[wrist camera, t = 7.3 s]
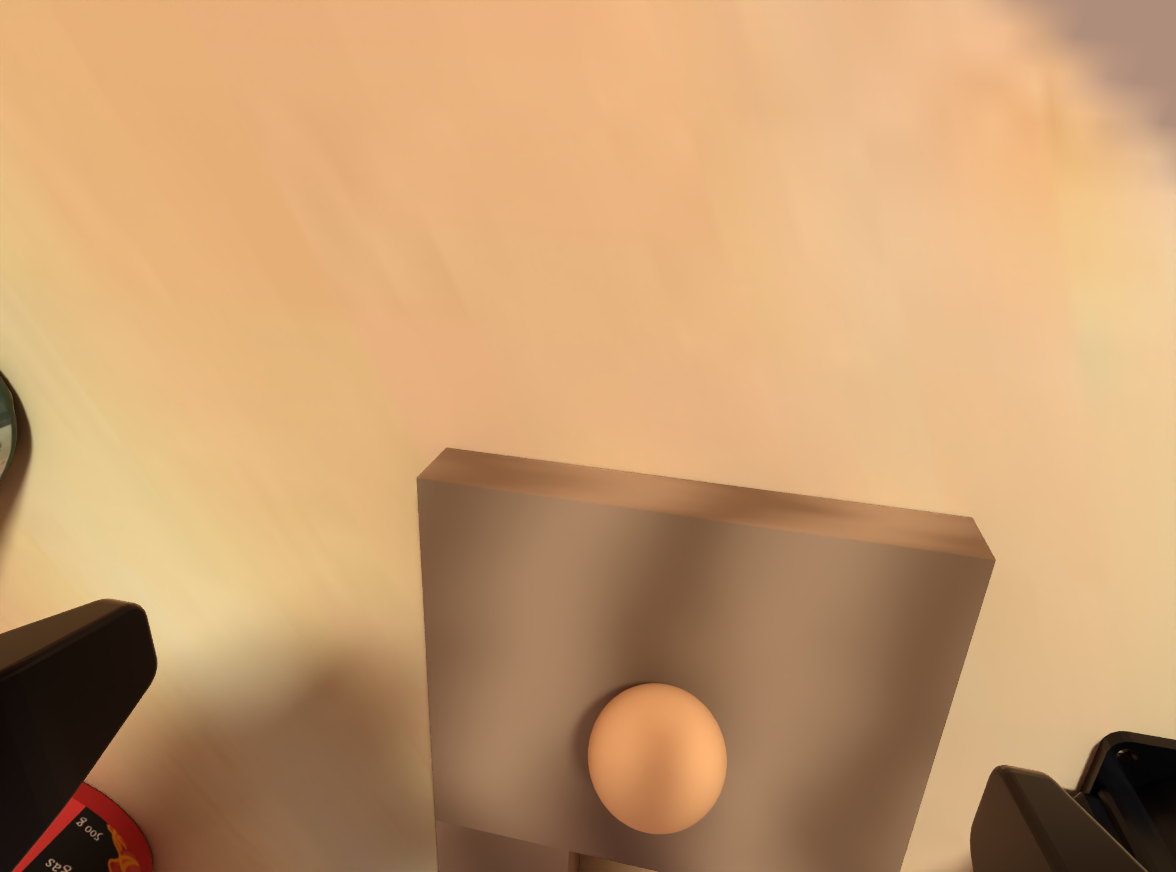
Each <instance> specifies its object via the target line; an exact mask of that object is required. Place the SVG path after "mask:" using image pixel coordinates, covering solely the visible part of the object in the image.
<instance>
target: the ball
mask: <svg viewBox="0 0 1176 872" xmlns="http://www.w3.org/2000/svg"><path fill="white" fill-rule="evenodd" d="M588 766H589V772H590V777H591V780H592V783H593V786H594V788H595V791H596V792H597V794H598V796H599V798H600V800H601V801H602V803H603V804H604V806H605V807H606V808H607V809H608V810H609V811H610V812H611V814H612V815H613V816H615V817H616V818H617V819H618V820H620V821H621V822H622V823H624V824H626V825H627V826H629V827H631V828H633V829H635V830H638V831H641V832H645V833H650V834H670V833H675V832H679V831H682V830H684V829H686V828H689V827H690V826H692V825H694V824H695V823H697V822H698V821H699V820H701V819H702V818H703V817H704V816H705V815H706V814H707V813H708V812H709V811H710V810H711V808H712V807H713V806H714V804H715V803H716V801H717V799H718V797H719V795H720V793H721V791H722V788H723V785H724V781H725V777H726V769H727V754H726V747H725V742H724V738H723V735H722V732H721V730H720V728H719V725H718V723H717V721H716V720H715V718H714V717H713V715H712V714H711V712H710V711H709V710H708V708H707V707H706V706H705V705H704V704H703V703H702V702H701V701H700V700H698V699H697V698H696V697H695V696H693V695H692V694H690V693H689V692H687V691H685V690H683V689H681V688H678V687H675V686H672V685H668V684H661V683H648V684H642V685H638V686H635V687H632V688H629V689H627V690H625V691H623V692H622V693H620V694H619V695H617V696H616V697H614V698H613V699H612V700H611V701H610V702H609V703H608V704H607V705H606V706H605V708H604V709H603V710H602V711H601V713H600V715H599V716H598V718H597V720H596V722H595V724H594V727H593V729H592V732H591V735H590V740H589V746H588Z"/></svg>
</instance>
